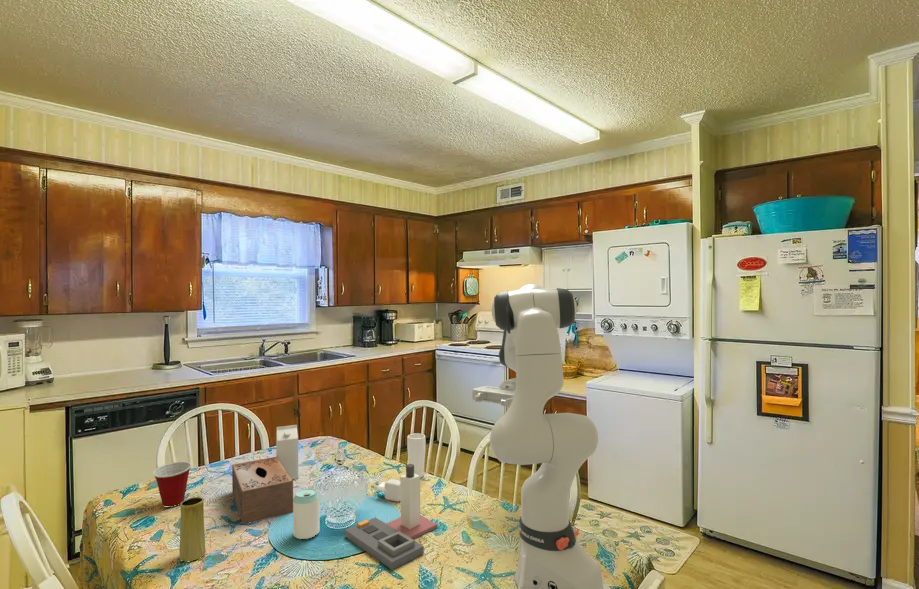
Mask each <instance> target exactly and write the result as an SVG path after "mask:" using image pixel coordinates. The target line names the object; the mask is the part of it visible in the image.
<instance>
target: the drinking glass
mask: <svg viewBox="0 0 919 589" xmlns="http://www.w3.org/2000/svg"><path fill="white" fill-rule="evenodd" d="M406 440H407V441H406V442H407V443H406V444H407V445H406V446H407V458H408V459H407V460H408V464H413V465H414V474H417V475H419V476H420V479H422V478H423V477H424V476H425V460H426V459H425V457H426V444H427V442H426V440H427V439H426V435H425V434H424V433H419V432H417V433H411V434H408V435H407V437H406Z"/></svg>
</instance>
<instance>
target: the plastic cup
mask: <svg viewBox="0 0 919 589" xmlns="http://www.w3.org/2000/svg"><path fill="white" fill-rule="evenodd" d="M191 467H192V463H191V462H190V461H189V462H188V461H175V462H171V463H170V462H169V463H167V464H163V465H162V466H159V467H157V468H155V469H154V470H153V472H152V475H153V477H154V478H155V480H156V483H157V488H158V491H159V492H158V493H159V496H160V499H161V504H162V506H163V505H164V506H174V505H178V504H180V503H181V502H183V501H184V500H185V497H186V492H187V488H188V487H187V486H188V480H189V474H190V470H191Z"/></svg>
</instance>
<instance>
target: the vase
mask: <svg viewBox="0 0 919 589" xmlns="http://www.w3.org/2000/svg"><path fill="white" fill-rule="evenodd" d="M204 511H205V510H204V498H203V497H201V496H195V497H194V496H193V497H190V498H187V499H184V501H183V502H181V505H180V526H179V557H178V560H179V559H180V560H182V561H193V560H196V559H198V560H200V559H201V558H200V557H202V556H203V555H204V554H205V552H206V553H207V551H206V539H205V538H206V537H205V514H204ZM205 555H206V554H205ZM205 555H204V556H205ZM204 556H203V557H204ZM203 557H202V558H203ZM199 558H200V559H199ZM180 560H179V561H180ZM196 561H197V560H196ZM193 562H194V561H193Z"/></svg>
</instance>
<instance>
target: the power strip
mask: <svg viewBox="0 0 919 589" xmlns="http://www.w3.org/2000/svg"><path fill="white" fill-rule="evenodd" d="M386 523H387V522H386ZM386 523H385V522H384V521H382V520H381V519H379V518H377V517H372V518H371V519H364V520H362V521H359V522H358V523H357V524H356V525H354V526H351V527H348V528H347V529H345V530H344V531H345V532H344V533H345V534H344V537H345V538H346V539H348V540H349V541H350V542H352V543H353V544H355V545H356V546H357V547H359V548H360V549H362V550H363V551H365V552H366V553H367V554H368V555H370V556H371V557H373V558H374V559H375V560H377V561H378V562H380V563H382V564H383V565H385V567H387V568H389V569H390V570H391V571H393V570H396V569H398V568H399V567H401V566H403V565H405V564H407V563H409V562H411V561H412V560H415V559H417V558H419V557H421V556H422V555H424V549H425V548H424V545H422V544H420V543H419V542H417V541H416V540H415V539H411V538H410V537H408V536H406V535H405V534H403V533H401V532H400V531H397V530H396V529H394V528H392V527H391V526H389V525H387V524H386Z"/></svg>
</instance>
